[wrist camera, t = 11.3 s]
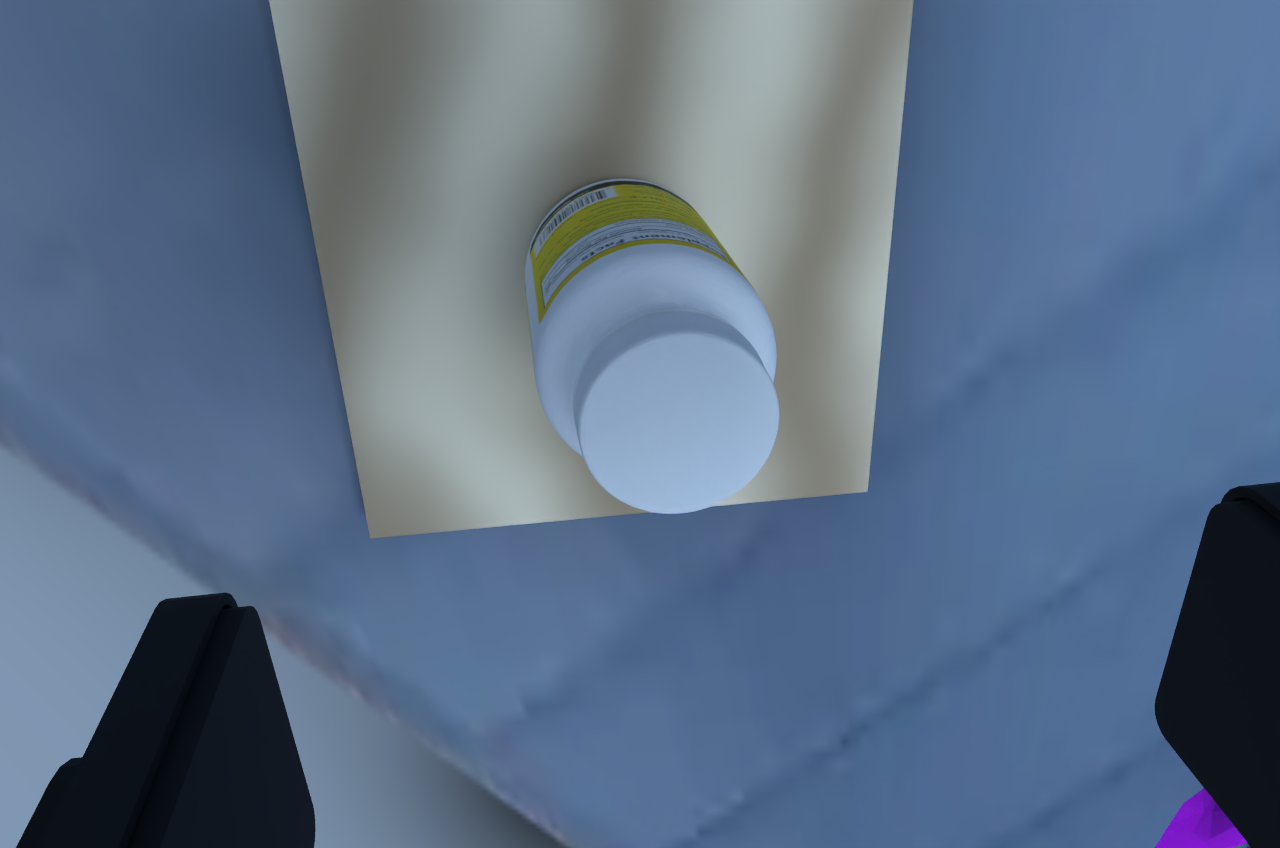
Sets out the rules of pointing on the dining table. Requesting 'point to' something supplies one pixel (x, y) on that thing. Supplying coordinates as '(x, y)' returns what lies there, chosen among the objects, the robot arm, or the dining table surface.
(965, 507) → the dining table surface
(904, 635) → the dining table surface
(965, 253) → the dining table surface
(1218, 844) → the cloth
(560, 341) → the supplement bottle
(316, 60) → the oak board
